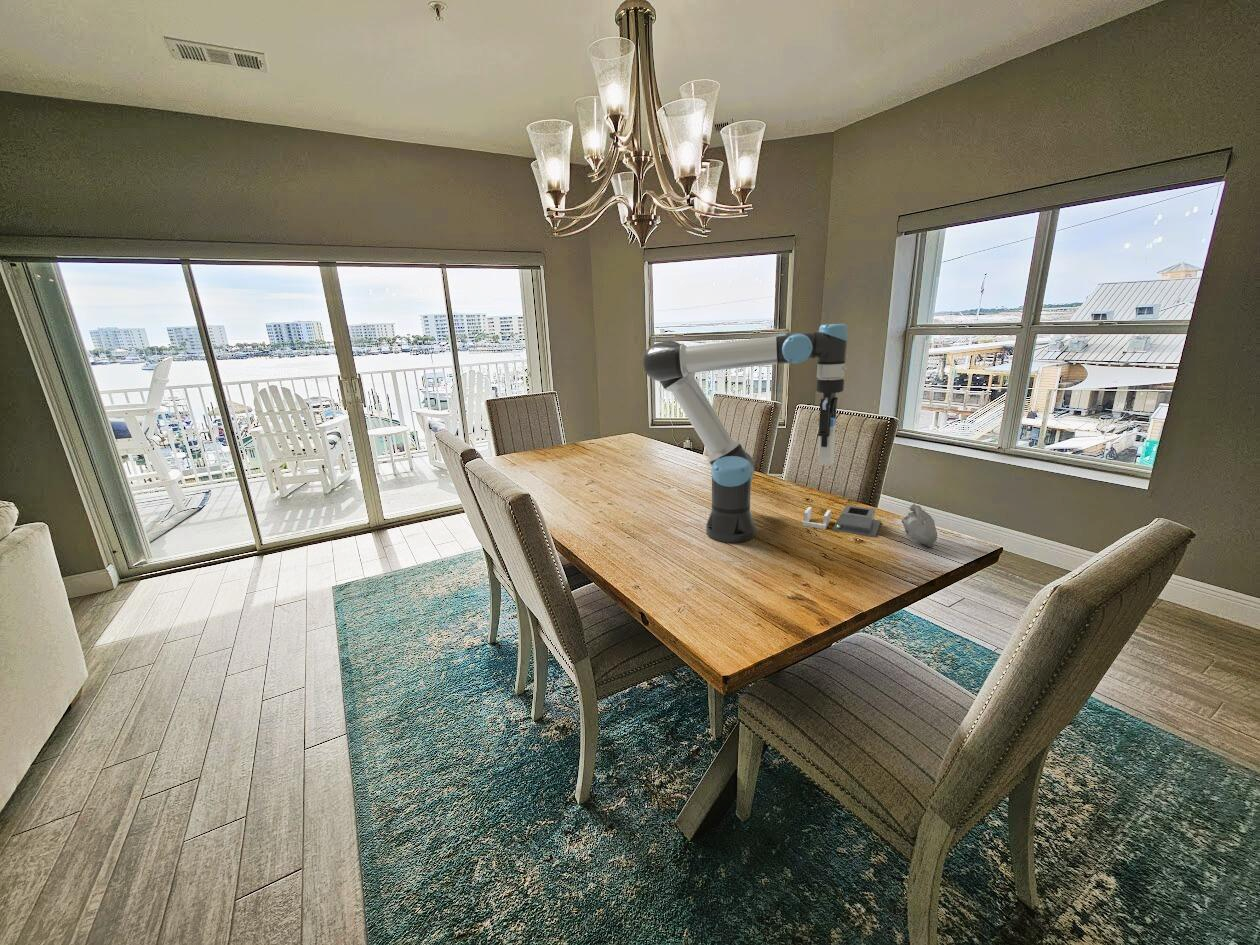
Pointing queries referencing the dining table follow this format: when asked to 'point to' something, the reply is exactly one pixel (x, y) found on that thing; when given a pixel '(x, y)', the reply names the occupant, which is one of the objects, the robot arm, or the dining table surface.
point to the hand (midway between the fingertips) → (825, 454)
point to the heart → (920, 526)
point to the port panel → (857, 521)
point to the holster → (822, 526)
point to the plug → (830, 459)
